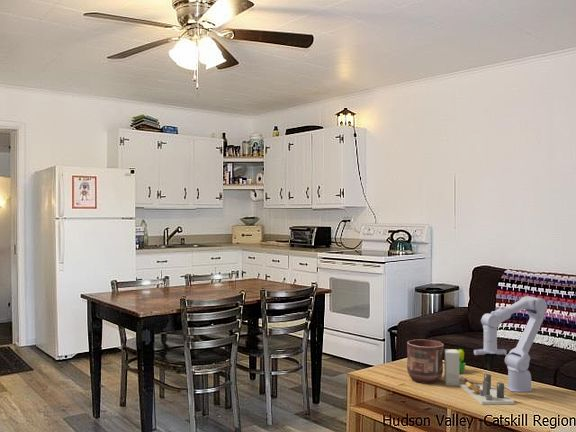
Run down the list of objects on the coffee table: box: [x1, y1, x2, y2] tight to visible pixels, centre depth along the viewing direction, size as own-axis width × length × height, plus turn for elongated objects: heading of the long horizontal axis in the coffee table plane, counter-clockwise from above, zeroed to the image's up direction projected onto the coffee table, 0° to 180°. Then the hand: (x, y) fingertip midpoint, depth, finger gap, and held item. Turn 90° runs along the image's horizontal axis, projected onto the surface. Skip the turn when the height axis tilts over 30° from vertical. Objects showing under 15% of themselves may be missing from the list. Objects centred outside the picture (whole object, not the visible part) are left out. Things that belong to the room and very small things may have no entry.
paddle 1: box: [460, 375, 475, 385], centre depth 247 cm, size 1×4×7 cm
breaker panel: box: [459, 373, 515, 406], centre depth 241 cm, size 14×24×7 cm, turn 4°
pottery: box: [406, 338, 445, 384], centre depth 263 cm, size 18×18×18 cm
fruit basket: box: [457, 348, 467, 374], centre depth 280 cm, size 11×9×11 cm
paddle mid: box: [465, 382, 480, 392], centre depth 240 cm, size 1×4×7 cm
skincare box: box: [443, 348, 461, 387], centre depth 258 cm, size 8×7×16 cm
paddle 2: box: [482, 380, 490, 397], centre depth 233 cm, size 1×4×7 cm, turn 3°
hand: (490, 370), depth 245 cm, fingers closed
